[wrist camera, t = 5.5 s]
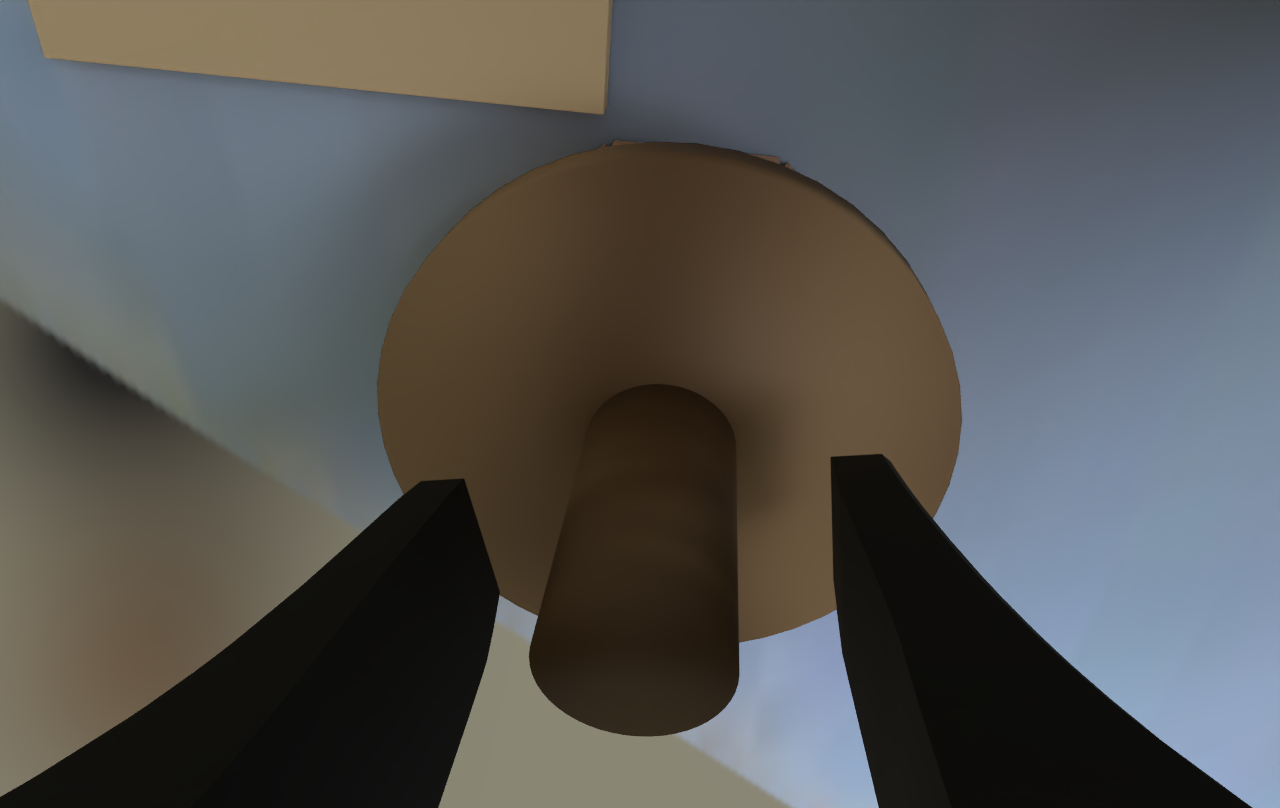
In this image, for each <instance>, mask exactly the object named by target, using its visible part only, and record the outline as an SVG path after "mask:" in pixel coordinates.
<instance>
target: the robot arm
mask: <svg viewBox="0 0 1280 808" xmlns="http://www.w3.org/2000/svg"><path fill="white" fill-rule="evenodd" d="M830 461H831V504H832V547H833V582H834V590H835V598H836V606H837V615H838V623H839V630H840V638H841V646H842V654H843V658H844V662H845V667H846V671H847V675H848V680H849V684H850V688H851V692H852V697H853V701H854V705H855V709H856V714H857V718H858V722H859V726H860V730H861V735H862V739H863V743H864V747H865V751H866V756H867V760H868V764H869V768H870V772H871V777H872V781H873V785H874V789H875V793H876V798H877V802H878V806H879V808H1252V807H1251V806H1249V805H1248V804H1246V803H1245V802H1244V801H1242V800H1241V799H1240V798H1238V797H1237V796H1236V795H1234V794H1233V793H1232V792H1230V791H1229V790H1228V789H1226V788H1225V787H1223V786H1222V785H1221V784H1219V783H1218V782H1217V781H1215V780H1214V779H1213V778H1211V777H1210V776H1209V775H1207V774H1206V773H1204V772H1203V771H1202V770H1200V769H1199V768H1198V767H1196V766H1195V765H1194V764H1192V763H1191V762H1190V761H1188V760H1187V759H1186V758H1184V757H1183V756H1181V755H1180V754H1179V753H1177V752H1176V751H1175V750H1173V749H1172V748H1171V747H1169V746H1168V745H1167V744H1165V743H1164V742H1163V741H1161V740H1160V739H1159V738H1158V737H1156V736H1155V735H1154V734H1153V733H1151V732H1150V731H1149V730H1148V729H1146V728H1145V727H1144V726H1143V725H1142V724H1140V723H1139V722H1138V721H1137V720H1135V719H1134V718H1133V717H1132V716H1131V715H1129V714H1128V713H1127V712H1126V711H1124V710H1123V709H1122V708H1121V707H1120V706H1118V705H1117V704H1116V703H1115V702H1113V701H1112V700H1111V699H1110V698H1109V697H1108V696H1106V695H1105V694H1104V693H1103V692H1102V691H1101V690H1100V689H1098V688H1097V687H1096V686H1095V685H1094V684H1093V683H1091V682H1090V681H1089V680H1088V679H1087V678H1086V677H1085V676H1083V675H1082V674H1081V673H1080V672H1079V671H1078V670H1077V669H1075V668H1074V667H1073V666H1072V665H1071V664H1070V663H1069V662H1068V661H1067V660H1066V659H1064V658H1063V657H1062V656H1061V655H1060V654H1059V653H1058V652H1057V651H1056V650H1055V649H1054V648H1053V647H1051V646H1050V645H1049V644H1048V643H1047V642H1046V641H1045V640H1044V639H1043V638H1042V637H1041V636H1040V635H1039V634H1038V633H1037V632H1036V631H1035V630H1034V629H1033V628H1032V627H1031V626H1030V625H1029V624H1028V623H1027V622H1026V621H1025V620H1024V619H1023V618H1022V617H1021V616H1020V615H1019V614H1018V613H1017V612H1016V611H1015V610H1014V609H1013V608H1012V607H1011V606H1010V605H1009V604H1008V603H1007V602H1006V601H1005V600H1004V599H1003V598H1002V597H1001V596H1000V595H999V594H998V593H997V592H996V591H995V590H994V588H993V587H992V586H991V585H990V584H989V583H988V582H987V581H986V580H985V579H984V578H983V577H982V576H981V574H980V573H979V572H978V571H977V570H976V569H975V568H974V567H973V565H972V564H971V563H970V562H969V561H968V560H967V559H966V557H965V556H964V555H963V554H962V553H961V552H960V551H959V550H958V548H957V547H956V546H955V545H954V544H953V543H952V542H951V540H950V539H949V538H948V537H947V536H946V534H945V533H944V532H943V531H942V530H941V528H940V527H939V526H938V525H937V524H936V522H935V521H934V520H933V518H932V517H931V516H930V515H929V513H928V512H927V511H926V510H925V508H924V507H923V506H922V505H921V503H920V502H919V501H918V499H917V498H916V497H915V495H914V494H913V493H912V491H911V490H910V489H909V487H908V486H907V484H906V483H905V482H904V480H903V479H902V477H901V476H900V474H899V473H898V472H897V470H896V469H895V467H894V466H893V464H892V462H891V461H890V460H889V459H887V458H886V457H885V456H884V455H883V454H868V455H851V456H834V457H830ZM499 595H500V590H499V587H498V584H497V581H496V577H495V574H494V571H493V568H492V565H491V562H490V558H489V555H488V552H487V549H486V546H485V543H484V539H483V536H482V533H481V530H480V527H479V524H478V520H477V517H476V514H475V511H474V508H473V505H472V501H471V498H470V495H469V492H468V489H467V486H466V482H465V479H464V478H462V479H445V480H429V481H420V482H419V483H418V484H416V485H415V486H414V487H413V488H411V489H410V490H409V491H408V492H406V493H405V494H404V495H403V496H402V497H401V498H399V499H398V500H397V501H396V502H395V503H394V504H393V505H391V506H390V507H389V508H388V509H387V510H386V511H385V512H384V513H382V514H381V515H380V516H379V517H378V518H377V519H376V520H375V521H374V522H373V523H371V524H370V525H369V526H368V527H367V528H366V529H365V530H364V531H363V532H362V533H360V534H359V535H358V536H357V537H356V538H355V539H354V540H353V541H352V542H350V543H349V544H348V545H347V546H346V547H345V548H344V549H343V550H341V552H339V553H338V554H337V555H336V556H335V557H334V558H333V559H332V560H330V561H329V562H328V563H327V564H326V565H325V566H324V567H322V568H321V569H320V570H319V571H318V572H317V573H316V574H315V575H313V576H312V577H311V578H310V579H309V580H308V581H307V582H306V583H304V584H303V585H302V586H301V587H300V588H299V589H298V590H296V591H295V592H294V593H293V594H291V595H290V596H289V597H288V598H286V599H285V600H284V601H283V602H282V603H280V604H279V605H278V606H277V607H276V608H274V609H273V610H272V611H271V612H269V613H268V614H267V615H266V616H265V617H263V618H262V619H261V620H260V621H259V622H257V623H256V624H255V625H254V626H252V627H251V628H250V629H249V630H248V631H246V632H245V633H244V634H243V635H242V636H240V637H239V638H238V639H237V640H236V641H234V642H233V643H232V644H231V645H229V646H228V647H227V648H225V649H224V650H223V651H221V652H220V653H219V654H218V655H216V656H215V657H214V658H212V659H211V660H210V661H208V662H207V663H206V664H204V665H203V666H202V667H200V668H199V669H198V670H196V671H195V672H194V673H192V674H191V675H189V676H188V677H187V678H185V679H184V680H182V681H181V682H180V683H178V684H177V685H175V686H174V687H172V688H171V689H170V690H168V691H167V692H165V693H164V694H163V695H161V696H160V697H158V698H157V699H156V700H154V701H153V702H151V703H150V704H149V705H147V706H146V707H144V708H143V709H141V710H140V711H138V712H137V713H135V714H134V715H132V716H131V717H129V718H128V719H126V720H125V721H123V722H122V723H120V724H118V725H117V726H115V727H113V728H112V729H110V730H109V731H107V732H106V733H104V734H102V735H101V736H99V737H98V738H96V739H95V740H93V741H91V742H90V743H88V744H87V745H85V746H84V747H82V748H80V749H79V750H77V751H76V752H74V753H72V754H71V755H69V756H67V757H66V758H64V759H63V760H61V761H60V762H58V763H56V764H55V765H53V766H52V767H50V768H48V769H47V770H45V771H44V772H42V773H41V774H39V775H37V776H36V777H34V778H32V779H31V780H29V781H27V782H25V783H24V784H22V785H20V786H19V787H17V788H15V789H13V790H12V791H10V792H8V793H6V794H5V795H3V796H1V797H0V808H438V806H439V803H440V801H441V798H442V795H443V792H444V789H445V785H446V783H447V780H448V777H449V774H450V771H451V768H452V765H453V762H454V759H455V756H456V753H457V750H458V747H459V744H460V741H461V738H462V735H463V732H464V729H465V726H466V724H467V721H468V718H469V715H470V712H471V708H472V705H473V702H474V699H475V696H476V693H477V690H478V687H479V684H480V681H481V678H482V675H483V672H484V668H485V665H486V662H487V657H488V653H489V648H490V643H491V638H492V633H493V628H494V623H495V617H496V612H497V606H498V600H499Z"/></svg>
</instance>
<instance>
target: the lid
mask: <svg viewBox="0 0 1280 808" xmlns="http://www.w3.org/2000/svg"><path fill="white" fill-rule="evenodd" d="M377 388H378V415H379V421H380V426H381V431H382V437H383V442H384V446H385V449H386V452H387V455H388V458H389V461H390V464H391V467H392V470H393V473H394V475H395V477H396V479H397V481H398V483H399V485H400V487H401V489H402V491H403V493H404V494H405V493H406V492H408V491H409V490H410V489H411V488H413V487H414V486H415V485H416V484H418V483H419V482H420V481H429V480H445V479H462V478H464V479H465V482H466V486H467V489H468V492H469V495H470V498H471V501H472V505H473V508H474V511H475V514H476V517H477V520H478V524H479V527H480V530H481V533H482V536H483V539H484V543H485V546H486V549H487V552H488V555H489V558H490V562H491V565H492V568H493V571H494V574H495V577H496V581H497V584H498V587H499V590H500V595H501V596H502V597H504V598H506V599H507V600H509V601H510V602H512V603H514V604H515V605H517V606H519V607H521V608H523V609H525V610H527V611H529V612H531V613H533V614H535V615H538V619H537V623H536V626H535V630H534V634H533V638H532V642H531V645H530V652H529V661H530V668H531V671H532V675H533V677H534V679H535V681H536V683H537V685H538V687H539V688H540V689H541V691H542V692H543V694H544V695H545V696H546V697H547V698H548V699H549V700H550V701H551V702H552V703H553V704H554V705H555V706H556V707H558V708H559V709H560V710H562V711H563V712H564V713H566V714H568V715H569V716H571V717H573V718H574V719H576V720H578V721H580V722H582V723H585V724H587V725H589V726H592V727H595V728H597V729H600V730H604V731H608V732H612V733H617V734H622V735H630V736H663V735H669V734H675V733H679V732H683V731H687V730H690V729H692V728H695V727H698V726H700V725H702V724H704V723H706V722H708V721H709V720H711V719H712V718H714V717H715V716H716V715H718V714H719V713H720V712H721V711H722V710H723V709H724V708H725V707H726V706H727V705H728V703H729V702H730V701H731V699H732V697H733V696H734V694H735V692H736V689H737V686H738V681H739V642H744V641H749V640H754V639H760V638H764V637H768V636H771V635H774V634H778V633H781V632H784V631H788V630H791V629H794V628H797V627H799V626H801V625H804V624H806V623H809V622H811V621H814V620H816V619H818V618H821V617H823V616H825V615H827V614H829V613H831V612H832V611H834V610H836V609H837V606H836V598H835V590H834V582H833V547H832V504H831V461H830V457H834V456H851V455H868V454H883V455H884V456H885V457H886V458H887V459H889V460H890V461H891V462H892V464H893V466H894V467H895V469H896V470H897V472H898V473H899V474H900V476H901V477H902V479H903V480H904V482H905V483H906V484H907V486H908V487H909V489H910V490H911V491H912V493H913V494H914V495H915V497H916V498H917V499H918V501H919V502H920V503H921V505H922V506H923V507H924V508H925V510H926V511H927V512H928V513H929V515H930V516H931V517H932V518H933V517H934V516H935V514H936V513H937V511H938V508H939V506H940V504H941V502H942V499H943V497H944V495H945V493H946V491H947V488H948V486H949V484H950V481H951V477H952V473H953V470H954V466H955V463H956V459H957V455H958V450H959V441H960V432H961V423H962V414H961V395H960V384H959V380H958V375H957V371H956V366H955V361H954V357H953V352H952V350H951V347H950V345H949V342H948V340H947V337H946V335H945V332H944V330H943V327H942V325H941V322H940V320H939V318H938V316H937V314H936V312H935V310H934V308H933V306H932V304H931V302H930V300H929V298H928V296H927V293H926V292H925V290H924V288H923V287H922V285H921V283H920V282H919V280H918V278H917V277H916V275H915V273H914V272H913V270H912V268H911V267H910V265H909V263H908V262H907V260H906V259H905V258H904V257H903V255H902V254H901V253H900V252H899V251H898V249H897V248H896V247H895V246H894V245H893V243H892V242H891V241H890V240H889V239H888V237H887V236H886V235H885V234H884V233H883V231H881V230H880V229H879V228H878V227H877V226H876V225H875V224H874V223H872V222H871V221H870V220H869V219H868V218H867V217H866V216H865V215H864V214H862V213H861V212H860V211H859V210H858V209H857V208H856V207H855V206H853V205H852V204H851V203H849V202H848V201H846V200H845V199H843V198H841V197H840V196H838V195H837V194H835V193H834V192H832V191H831V190H829V189H828V188H826V187H825V186H823V185H822V184H820V183H819V182H817V181H815V180H813V179H811V178H808V177H806V176H804V175H802V174H800V173H798V172H796V171H794V170H792V169H790V168H787V167H785V166H783V165H781V164H778V163H775V162H772V161H769V160H766V159H763V158H760V157H756V156H753V155H750V154H747V153H744V152H741V151H736V150H731V149H725V148H719V147H714V146H708V145H702V144H696V143H672V142H645V143H635V144H624V145H613V146H607V147H603V148H599V149H595V150H590V151H586V152H582V153H577V154H573V155H569V156H567V157H564V158H561V159H559V160H556V161H554V162H551V163H548V164H546V165H543V166H541V167H538V168H535V169H533V170H531V171H529V172H527V173H526V174H524V175H522V176H520V177H518V178H517V179H515V180H513V181H511V182H509V183H508V184H506V185H504V186H502V187H501V188H499V189H497V190H496V191H495V192H493V193H492V194H491V195H490V196H488V197H487V198H486V199H484V200H483V201H482V202H480V203H479V204H478V205H477V206H475V207H474V208H473V209H471V210H470V211H469V212H468V213H467V214H466V215H465V216H464V217H463V218H462V219H461V220H460V221H459V222H458V223H457V224H456V225H455V226H454V227H453V228H452V230H451V231H450V232H449V233H448V234H447V235H446V236H445V237H444V238H443V239H442V240H441V242H440V243H439V244H438V245H437V246H436V248H435V249H434V250H433V251H432V252H431V254H430V255H429V256H428V257H427V258H426V260H425V261H424V262H423V264H422V265H421V267H420V268H419V270H418V271H417V273H416V274H415V275H414V277H413V278H412V280H411V281H410V283H409V284H408V286H407V287H406V288H405V290H404V292H403V295H402V297H401V299H400V301H399V303H398V305H397V307H396V309H395V311H394V313H393V315H392V318H391V320H390V323H389V327H388V330H387V333H386V337H385V340H384V344H383V347H382V351H381V358H380V366H379V374H378V382H377Z"/></svg>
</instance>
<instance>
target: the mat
mask: <svg viewBox="0 0 1280 808" xmlns="http://www.w3.org/2000/svg"><path fill="white" fill-rule="evenodd" d="M28 3H29V6H30V10H31V13H32V17H33V20H34V23H35V27H36V30H37V33H38V37H39V40H40V43H41V47H42V50H43V54H44V57H45V58H53V59H63V60H73V61H82V62H92V63H102V64H112V65H122V66H131V67H141V68H151V69H161V70H171V71H180V72H190V73H200V74H210V75H220V76H229V77H239V78H249V79H259V80H269V81H278V82H288V83H298V84H308V85H318V86H327V87H337V88H347V89H357V90H367V91H376V92H386V93H396V94H406V95H416V96H426V97H435V98H445V99H455V100H465V101H475V102H484V103H494V104H504V105H514V106H524V107H533V108H543V109H553V110H563V111H573V112H582V113H592V114H602V115H603V114H604V112H605V110H606V109H607V101H608V82H609V63H610V44H611V26H612V7H613V0H28Z"/></svg>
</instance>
